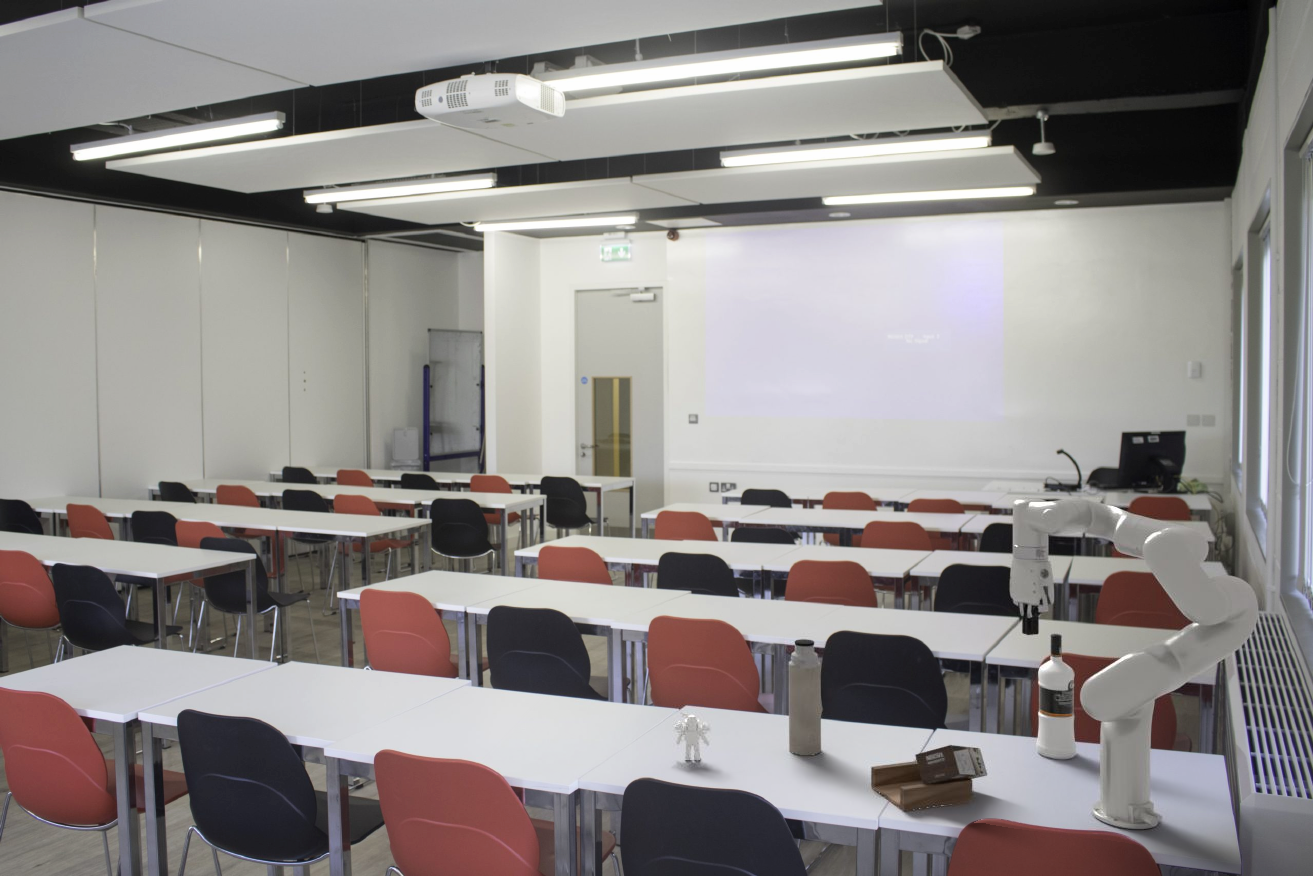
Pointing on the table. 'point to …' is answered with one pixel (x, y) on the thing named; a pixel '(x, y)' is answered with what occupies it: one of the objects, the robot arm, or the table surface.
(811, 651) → the thermos bottle
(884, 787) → the u rest
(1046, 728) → the vodka
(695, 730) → the blocky character figurine
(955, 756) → the coffee box
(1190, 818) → the table surface
